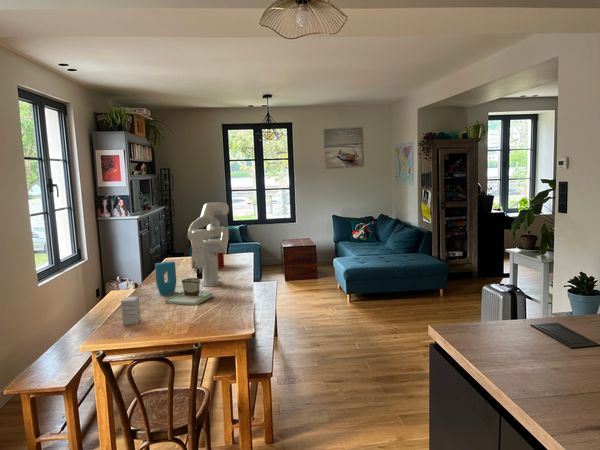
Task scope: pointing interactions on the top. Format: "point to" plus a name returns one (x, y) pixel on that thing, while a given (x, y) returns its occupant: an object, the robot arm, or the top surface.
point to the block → (160, 282)
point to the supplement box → (130, 310)
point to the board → (187, 299)
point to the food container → (191, 286)
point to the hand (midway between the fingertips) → (199, 278)
